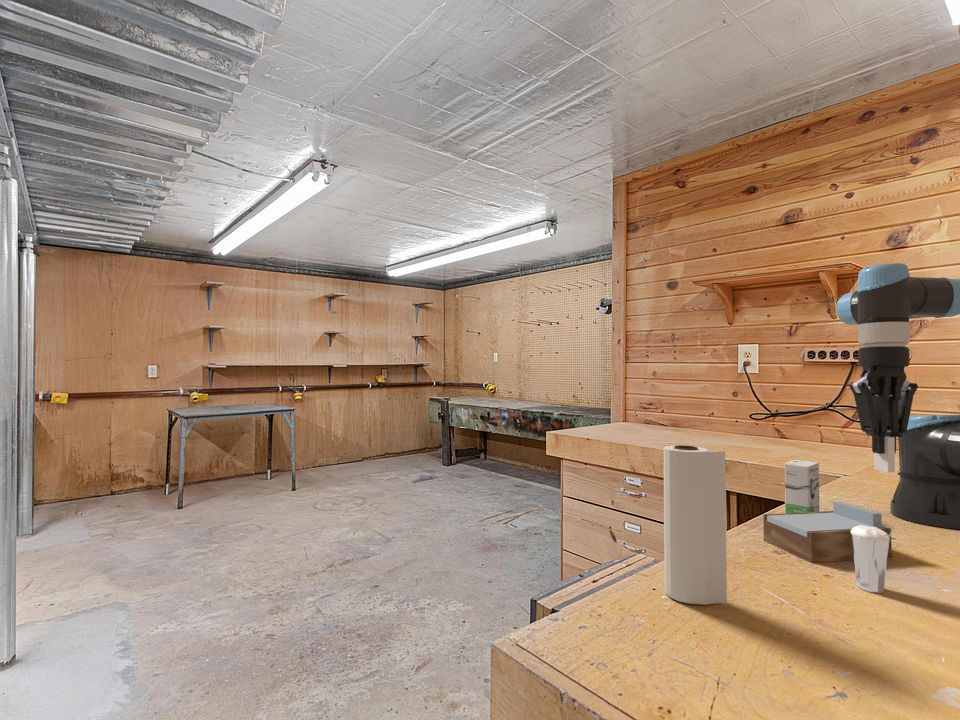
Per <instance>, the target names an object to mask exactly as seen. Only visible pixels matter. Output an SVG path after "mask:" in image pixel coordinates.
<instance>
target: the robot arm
mask: <svg viewBox="0 0 960 720" xmlns="http://www.w3.org/2000/svg"><path fill="white" fill-rule="evenodd" d="M909 272H910V271H909V266H908V265H907V264H905V263H901V262H888V263H879V264H873V265H870V266H866V267H863V268H862V269H860V270H859V272H858V277H857V286H856V290H855V291H853V292H849V293H845V294H843V295H842V296H840V298H839V299H838V301H837V302H836V306H835V310H836V315H837V317H838V318H839V320H840V321H841V322H842V323H844V324H846V325H848V326H854V325H855V326H857V327H858V328H857V329H858V330H857V334H858V338H857V340H858V341H857V343H858V345H859V346H861V347H859V348H858V349H857V361H858V362H857V364H858V366H859V367H861V368H862V371H861V373H860V379H859V380H857V381H856V382H855V381H853V382H849V385H848V386H849V389H850V391H851V392H852V394H853V398H854V401H855V405H856V411H857V415H858V420H859V424H860V429H861V432H863V433H865V434H866V435H868V436H871V446H872V447H871V450H872V453H873V470H875V471H880V472H885V473H895V472H896V460H895V457H896V456H895V455H896V453H897V444H898V462H899V463H898V464H899V482H898V483H897V486H896V489H895V491H894V493H893V496H892V499H891V500H890V502H889V503H890V506H889V507H890V508H889V509H890V513H891V514H892V515H893V516H895V517H897V518H899V519H903V520H904V521H905V520H906V521H909V522H914V523H918V524H922V525H926V526H927V525H928V526H933V527H940V528H946V529H955V530H960V414H924V415H921V414H920V415H911V411H912V405H913V401H914V400H913V399H914V395H915V393H916V392H917V390H918V388H919V386H918V383H917V382H916V383H915V382H910V381H909V380H908V379H907V373H906V372H905V368H906V367H907V368H908V366H910V365H911V364H910V359H911V357H910V355H911V354H910V348H909V347H907V346H906V345H908V344H910V343H911V340H910V339H911V338H910V337H911V336H910V335H911V333H910V320H913V319H914V320H915V319H922V318H935V319H939V318H940V319H941V318H942V319H943V318H952V317H955V316H958V315H960V277H958V278H956V277H955V278H949V277H944V276H942V277H923V276H920V277H919V276H915V277H914V276H910V275H911V273H909ZM897 440H898V443H897Z"/></svg>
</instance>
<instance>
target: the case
mask: <svg viewBox="0 0 960 720" xmlns="http://www.w3.org/2000/svg"><path fill="white" fill-rule="evenodd" d="M832 512H833V510H828V511H819V512H802V513H785V512H784V513H783V512H782V513H765V514H763V515H762V516H763V517H762V519H763V541H764V542H765V543H768V544H770V545H772V546H775V547H778V548H779V549H781V550H783V551H784V552H785V551H786V552H788V553H789V554H792V555H794V556H796V557H798V558H800V559H802V560H805V561H807V562H809V563H812V564H814V563H826V562H827V563H829V562H841V561H843V562H845V561H854V554H853V546H852V539H851V530H837V531H819V532H809V537H805V536H803V535H800V534H798V533H795V532H793V531H790V530H788V529H785V528H783V527H781V526H778V525H776V524H773V523H771V522H768V521H767V516H771V515H792V514H812V513H832ZM878 529H880V530H882V531H884V532H886V533H887V534H888V535H889V534H890V533H891V531H892V528H890V527H886V528H878ZM892 548H893V547H892V534H891V535H890V539H889V547H888V555H887V559H888V558H892V557H893V555H892V552H893V550H892Z"/></svg>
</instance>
